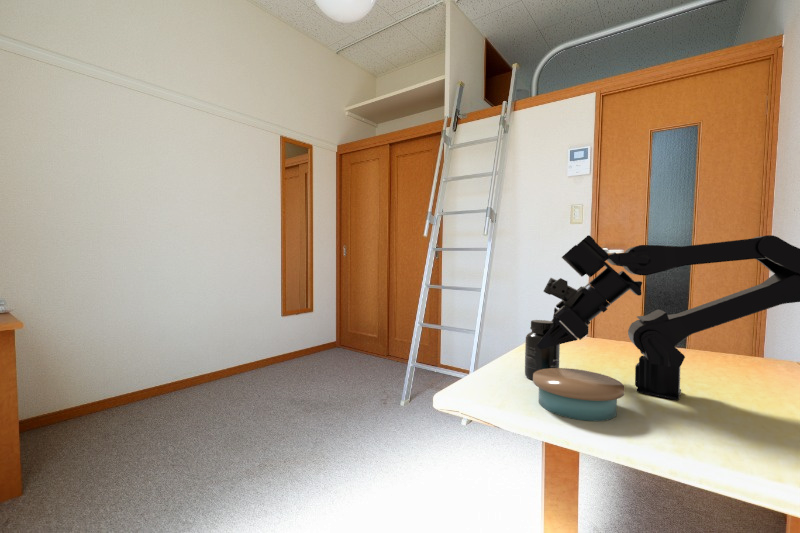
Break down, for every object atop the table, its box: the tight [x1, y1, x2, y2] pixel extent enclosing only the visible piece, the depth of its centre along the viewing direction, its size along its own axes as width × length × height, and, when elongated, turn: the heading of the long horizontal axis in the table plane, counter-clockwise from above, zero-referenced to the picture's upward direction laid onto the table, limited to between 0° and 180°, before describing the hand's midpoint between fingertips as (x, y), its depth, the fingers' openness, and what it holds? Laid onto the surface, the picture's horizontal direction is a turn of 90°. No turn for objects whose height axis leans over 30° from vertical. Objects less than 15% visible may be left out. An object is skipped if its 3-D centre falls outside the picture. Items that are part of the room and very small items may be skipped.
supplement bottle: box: [524, 319, 561, 381], centre depth 79 cm, size 7×7×12 cm
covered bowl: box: [532, 367, 625, 422], centre depth 64 cm, size 14×14×4 cm
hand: (539, 343), depth 80 cm, fingers open, 9 cm apart
